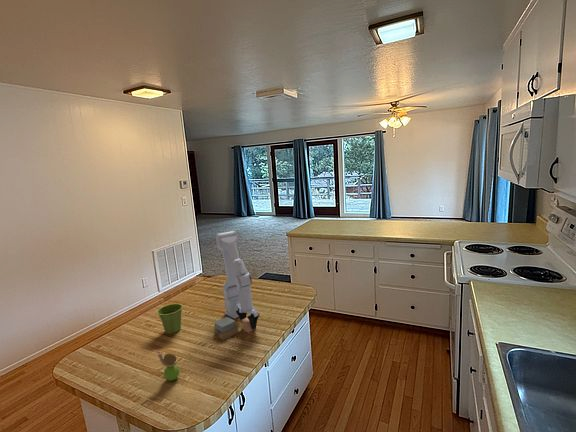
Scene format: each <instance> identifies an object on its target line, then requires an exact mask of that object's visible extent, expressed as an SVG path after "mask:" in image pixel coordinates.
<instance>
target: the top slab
mask: <svg viewBox="0 0 576 432" xmlns="http://www.w3.org/2000/svg"><path fill="white" fill-rule="evenodd" d="M236 323H237V322H236V320H235V319H234V318H232V317H230V316H225V317H223V318H221V319H219V320H216V321H215V322H213V325H214V329H216V330H218V331H220V332H221V333H225V332H227V331H229V330H231V329H233V328H235V327H236V326H237V324H236Z"/></svg>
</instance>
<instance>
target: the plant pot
mask: <svg viewBox="0 0 576 432" xmlns="http://www.w3.org/2000/svg"><path fill="white" fill-rule="evenodd" d="M183 306H184V305H183V304H182V303H170V304H166V305H164V306H162V307H160V308H158V309H157V310H156V314H157V315H158V317H159V318H160V320H161V324H162V326H163V329H164V332H165V333H166V334H169V335H172V334H176V333H178V332H179V331H181V329H182V312H183V311H182V310H183Z"/></svg>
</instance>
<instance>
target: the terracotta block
mask: <svg viewBox="0 0 576 432" xmlns="http://www.w3.org/2000/svg"><path fill="white" fill-rule="evenodd" d="M247 317H248V316H246V318H244V319H242V323H241V324H242V330H243V331H245V332H247V333H251V332H252V331H254V330H256V329H257V327H256V328H255V329H253V330H252V329H251V325H250V321H249V319H248V318H247Z"/></svg>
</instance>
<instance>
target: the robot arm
mask: <svg viewBox="0 0 576 432" xmlns="http://www.w3.org/2000/svg"><path fill="white" fill-rule="evenodd" d="M238 238H239V237H238V233H237V231H235V230H231V231H226V232H219V233H216V235H215V242H216V247H217V250H220V251H221V254H222V257H223V263H224V269H225V275H226V276H225V277H226V281H225V282H224V283H223V284H222V293H223V296H224V299H225V300H224V307H225V312H224V314H225V315H226V316H227V317H229V318H231V319H233V320H235V319H237V318H239V320H240V322H241V324H242V319H244V318H246V317H247V318H248V319H249V321H250V325H251V329H252V331H254V330H256V329H257V324H258V320H259V318H260V313H259V311H258V310H256V308H255V307H254V306H253V305H254V304H253V298H252V295H253V294H252V290H251V289H252V287H251V285H253V284H252V283H253V280H252V276H251V274H250V273H249V270H247V267H246V265H245V263H244V260H243V259H241V258H240V254H239V252H238V251H239V250H238V248H237V247H238V246H237V245H238V240H239V239H238ZM247 314H250V315H248V316H247ZM255 328H256V329H255ZM253 329H254V330H253Z"/></svg>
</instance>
